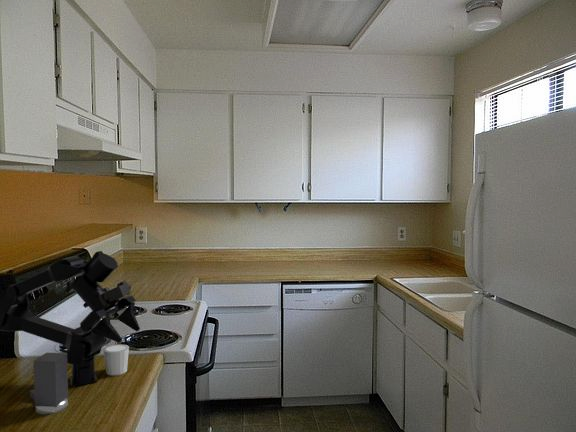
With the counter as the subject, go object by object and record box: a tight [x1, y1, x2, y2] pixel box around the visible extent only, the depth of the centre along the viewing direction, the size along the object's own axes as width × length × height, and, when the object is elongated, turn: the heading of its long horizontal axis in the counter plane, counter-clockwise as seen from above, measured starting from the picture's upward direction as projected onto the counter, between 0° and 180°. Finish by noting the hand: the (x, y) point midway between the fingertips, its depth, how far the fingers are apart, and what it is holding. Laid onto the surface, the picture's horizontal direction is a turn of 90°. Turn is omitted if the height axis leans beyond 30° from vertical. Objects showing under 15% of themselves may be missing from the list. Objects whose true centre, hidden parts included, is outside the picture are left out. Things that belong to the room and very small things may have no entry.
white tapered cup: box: [103, 343, 130, 376], centre depth 127 cm, size 7×7×7 cm
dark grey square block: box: [33, 352, 69, 407], centre depth 105 cm, size 5×5×11 cm
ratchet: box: [29, 389, 69, 415], centre depth 108 cm, size 13×7×4 cm, turn 50°
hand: (130, 335), depth 118 cm, fingers open, 9 cm apart
